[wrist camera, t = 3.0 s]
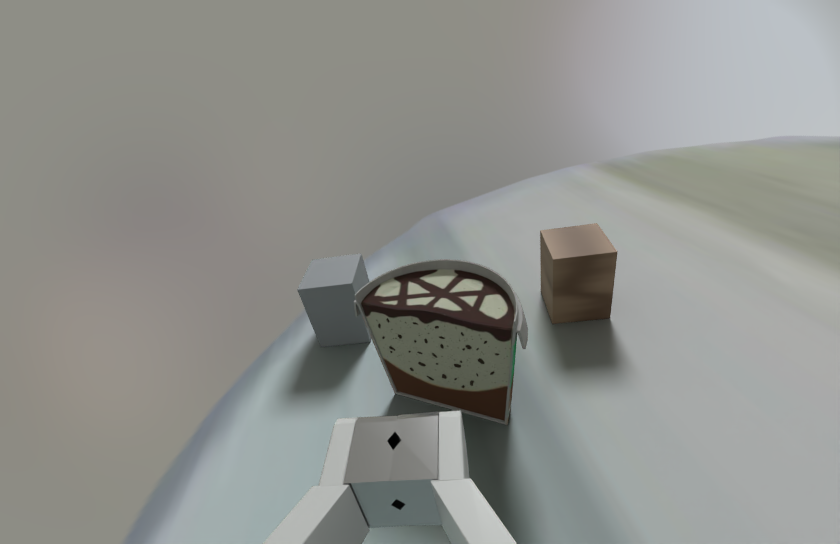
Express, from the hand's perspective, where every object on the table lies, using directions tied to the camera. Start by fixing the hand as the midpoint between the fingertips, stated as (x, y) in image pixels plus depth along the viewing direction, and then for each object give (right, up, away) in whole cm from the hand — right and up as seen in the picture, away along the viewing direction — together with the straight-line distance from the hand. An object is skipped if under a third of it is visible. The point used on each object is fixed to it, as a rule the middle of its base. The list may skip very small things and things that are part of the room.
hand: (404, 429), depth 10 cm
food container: (+4, -5, +24) cm, 24 cm away
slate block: (-7, -2, +32) cm, 32 cm away
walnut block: (+15, +1, +29) cm, 32 cm away
